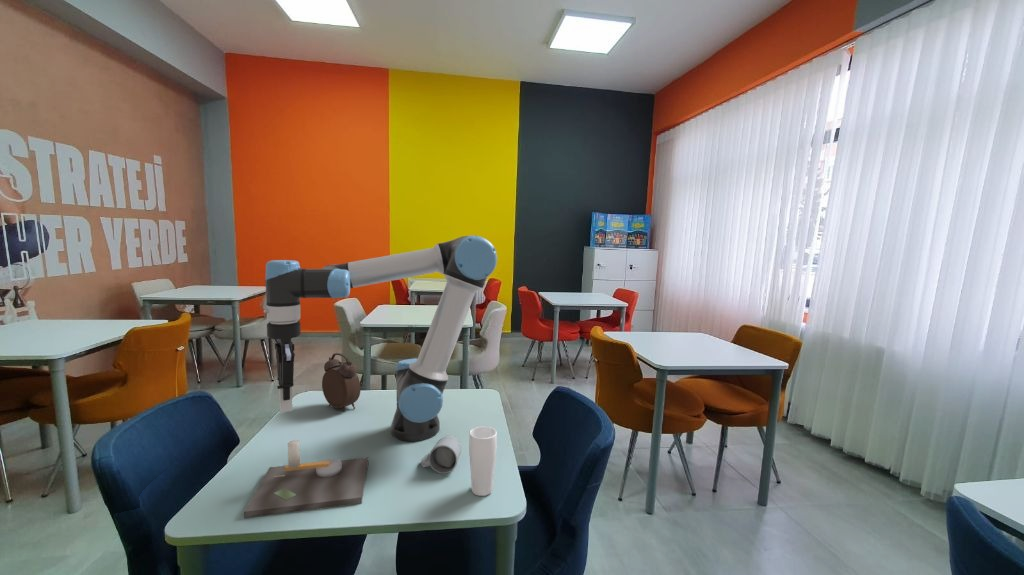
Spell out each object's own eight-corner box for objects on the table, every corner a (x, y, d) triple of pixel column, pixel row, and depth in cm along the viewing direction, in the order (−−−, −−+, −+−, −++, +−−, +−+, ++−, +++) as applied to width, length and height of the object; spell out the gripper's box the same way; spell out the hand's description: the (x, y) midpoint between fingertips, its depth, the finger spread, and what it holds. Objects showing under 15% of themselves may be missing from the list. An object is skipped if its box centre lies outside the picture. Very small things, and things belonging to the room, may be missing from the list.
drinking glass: (499, 496, 99) (500, 437, 98) (471, 501, 97) (472, 440, 96) (492, 480, 106) (493, 424, 104) (466, 484, 104) (466, 427, 102)
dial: (343, 463, 109) (342, 433, 108) (340, 475, 103) (339, 444, 102) (289, 468, 106) (287, 437, 105) (282, 482, 100) (281, 449, 99)
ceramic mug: (462, 458, 116) (462, 432, 115) (457, 474, 108) (456, 446, 107) (425, 456, 117) (425, 430, 116) (417, 473, 109) (416, 445, 108)
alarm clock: (364, 409, 148) (363, 354, 145) (346, 416, 141) (345, 359, 139) (338, 400, 155) (336, 348, 153) (320, 406, 149) (318, 352, 147)
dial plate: (368, 462, 113) (368, 457, 113) (361, 503, 95) (361, 496, 95) (270, 472, 107) (269, 466, 107) (243, 518, 89) (243, 511, 89)
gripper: (263, 318, 108) (266, 405, 111) (270, 327, 98) (273, 423, 100) (295, 315, 113) (297, 399, 115) (305, 324, 102) (307, 416, 105)
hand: (285, 410), depth 108 cm, fingers closed
